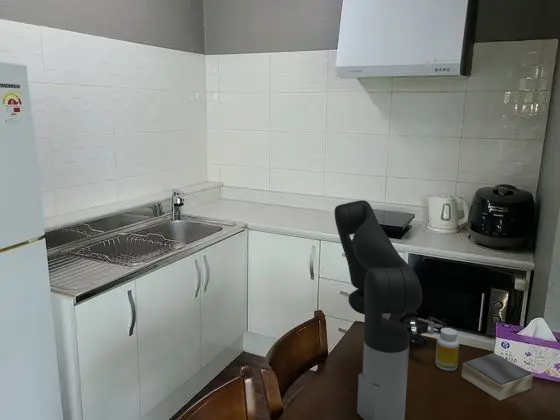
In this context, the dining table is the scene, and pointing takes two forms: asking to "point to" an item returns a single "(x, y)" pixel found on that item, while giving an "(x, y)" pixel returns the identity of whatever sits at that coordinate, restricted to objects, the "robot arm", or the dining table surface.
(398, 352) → the robot arm
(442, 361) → the supplement bottle
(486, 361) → the plinth
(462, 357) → the dining table surface
